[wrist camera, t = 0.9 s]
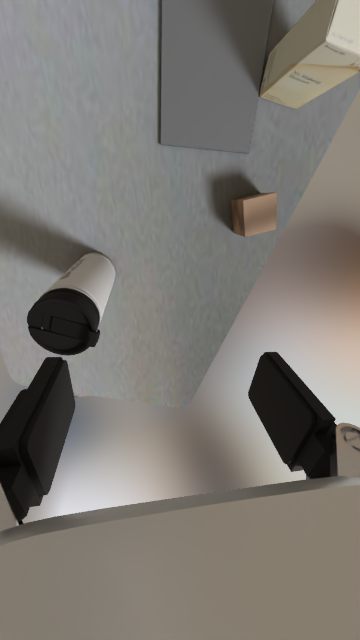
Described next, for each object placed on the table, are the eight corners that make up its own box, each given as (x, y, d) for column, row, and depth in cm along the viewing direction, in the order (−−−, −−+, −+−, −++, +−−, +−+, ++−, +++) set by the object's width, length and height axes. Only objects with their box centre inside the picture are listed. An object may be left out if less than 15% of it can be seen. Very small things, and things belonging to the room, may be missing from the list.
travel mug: (112, 293, 40) (90, 365, 22) (74, 281, 38) (17, 351, 20) (122, 260, 37) (105, 313, 20) (81, 246, 35) (23, 291, 18)
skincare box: (257, 97, 30) (321, 42, 19) (269, 50, 28) (346, -40, 17) (297, 110, 31) (377, 64, 21) (311, 66, 29) (407, -10, 19)
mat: (162, -48, 23) (162, -51, 23) (275, -21, 25) (277, -23, 25) (160, 144, 31) (160, 144, 30) (247, 153, 33) (249, 153, 32)
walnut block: (230, 200, 35) (243, 200, 31) (260, 193, 36) (276, 192, 31) (233, 232, 38) (245, 236, 34) (260, 225, 38) (276, 229, 34)
